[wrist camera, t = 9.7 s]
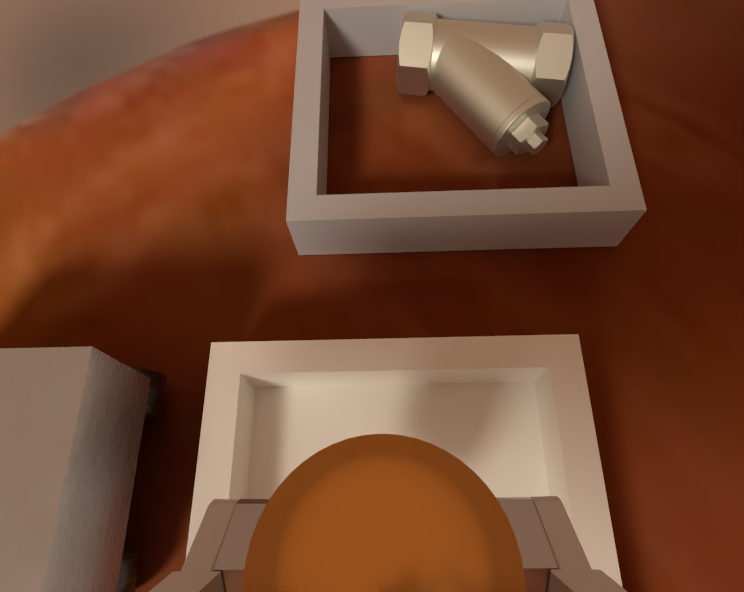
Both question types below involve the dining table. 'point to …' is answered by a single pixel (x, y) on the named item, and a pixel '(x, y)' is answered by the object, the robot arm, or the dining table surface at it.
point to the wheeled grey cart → (70, 467)
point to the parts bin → (466, 207)
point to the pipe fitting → (488, 74)
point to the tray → (409, 417)
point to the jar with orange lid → (383, 524)
